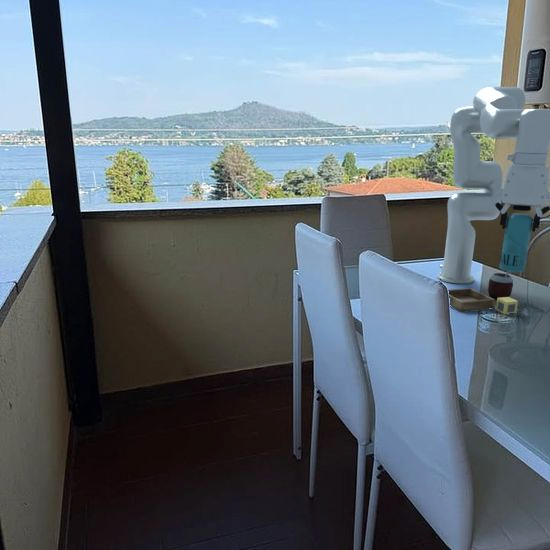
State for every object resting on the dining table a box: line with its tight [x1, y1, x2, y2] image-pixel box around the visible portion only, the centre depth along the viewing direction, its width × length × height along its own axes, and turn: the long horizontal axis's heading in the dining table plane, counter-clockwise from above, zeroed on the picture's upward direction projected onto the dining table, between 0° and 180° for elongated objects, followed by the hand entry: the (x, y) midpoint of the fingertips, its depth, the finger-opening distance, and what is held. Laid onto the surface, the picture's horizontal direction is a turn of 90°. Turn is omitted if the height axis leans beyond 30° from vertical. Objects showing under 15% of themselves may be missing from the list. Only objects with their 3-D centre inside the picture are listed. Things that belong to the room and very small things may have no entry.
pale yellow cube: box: [495, 296, 519, 315], centre depth 138 cm, size 4×4×4 cm
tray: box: [447, 287, 496, 313], centre depth 145 cm, size 12×12×3 cm
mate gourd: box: [487, 271, 514, 300], centre depth 148 cm, size 8×8×15 cm
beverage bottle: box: [499, 205, 534, 273], centre depth 124 cm, size 6×7×20 cm
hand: (518, 228), depth 123 cm, fingers closed on beverage bottle, 6 cm apart
